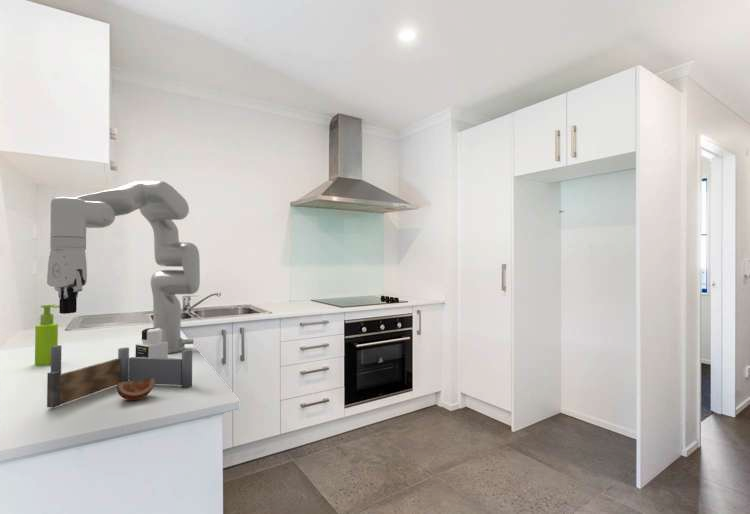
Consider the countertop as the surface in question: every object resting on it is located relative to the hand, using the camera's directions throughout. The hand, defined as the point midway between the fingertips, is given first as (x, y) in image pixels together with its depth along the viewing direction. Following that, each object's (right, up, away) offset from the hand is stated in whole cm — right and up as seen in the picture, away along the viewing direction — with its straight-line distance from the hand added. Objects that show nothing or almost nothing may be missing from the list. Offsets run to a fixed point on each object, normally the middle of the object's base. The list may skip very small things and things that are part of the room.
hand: (68, 312), depth 103 cm
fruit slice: (+22, -21, -5) cm, 31 cm away
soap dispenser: (-30, -22, +29) cm, 47 cm away
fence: (+9, -21, +8) cm, 24 cm away
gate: (+8, -21, -3) cm, 22 cm away
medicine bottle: (+5, -22, +29) cm, 37 cm away
